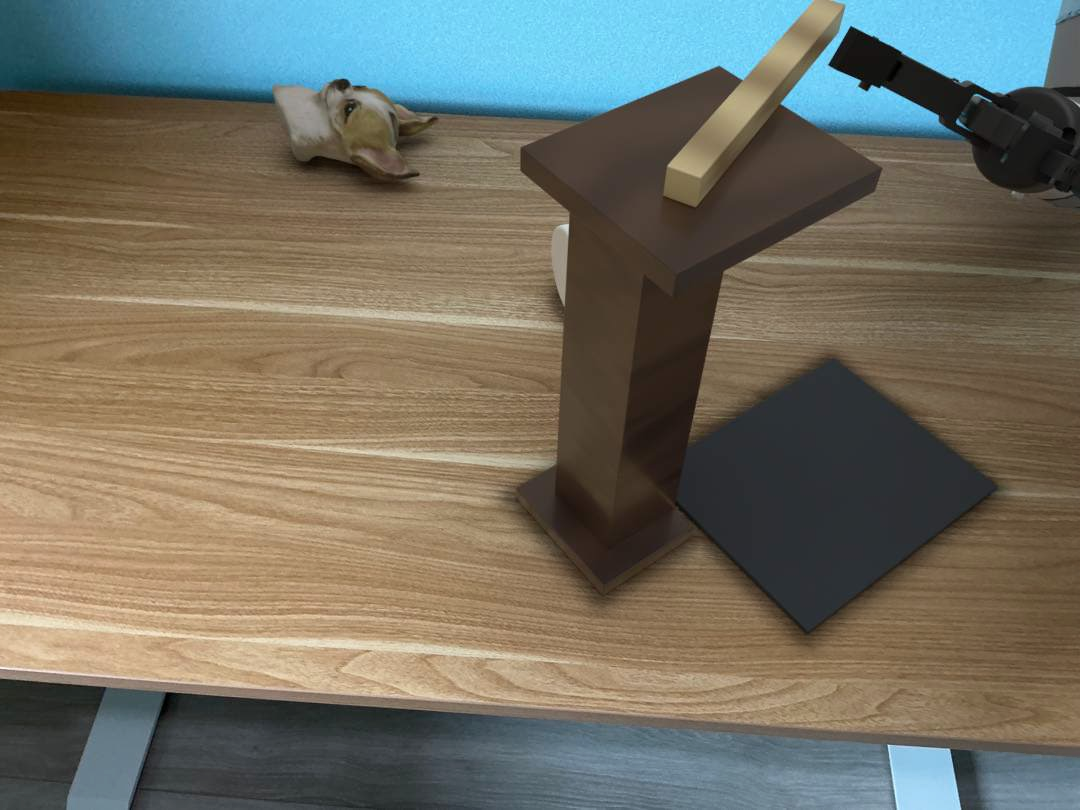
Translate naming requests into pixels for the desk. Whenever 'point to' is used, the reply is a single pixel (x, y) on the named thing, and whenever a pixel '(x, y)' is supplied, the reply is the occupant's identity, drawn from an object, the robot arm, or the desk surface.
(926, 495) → the mat
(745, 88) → the wooden stick
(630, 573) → the stand
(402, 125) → the ceramic sculpture
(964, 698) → the desk surface
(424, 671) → the desk surface
